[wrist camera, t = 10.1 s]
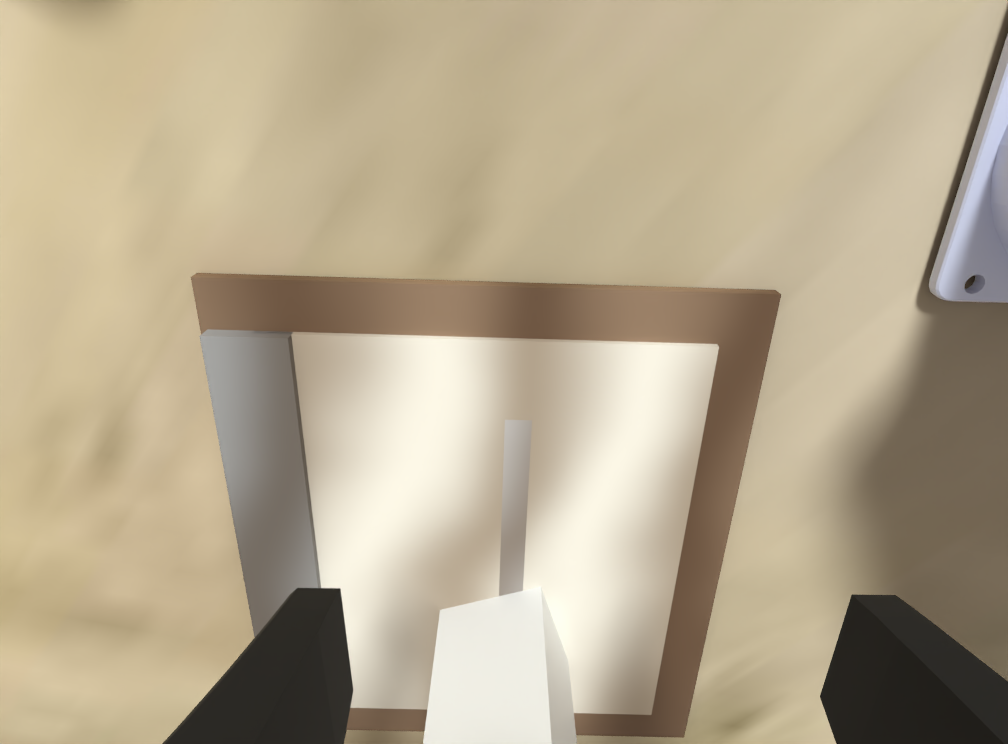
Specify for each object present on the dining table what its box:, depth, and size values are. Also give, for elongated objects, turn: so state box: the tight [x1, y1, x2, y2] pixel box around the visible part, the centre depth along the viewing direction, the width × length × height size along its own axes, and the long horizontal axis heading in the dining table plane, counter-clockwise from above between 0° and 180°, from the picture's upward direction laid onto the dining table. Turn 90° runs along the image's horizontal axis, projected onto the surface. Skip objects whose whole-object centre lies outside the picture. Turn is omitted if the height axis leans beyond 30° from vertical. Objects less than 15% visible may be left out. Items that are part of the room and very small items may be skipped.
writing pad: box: [191, 273, 781, 737], centre depth 21 cm, size 16×18×1 cm
